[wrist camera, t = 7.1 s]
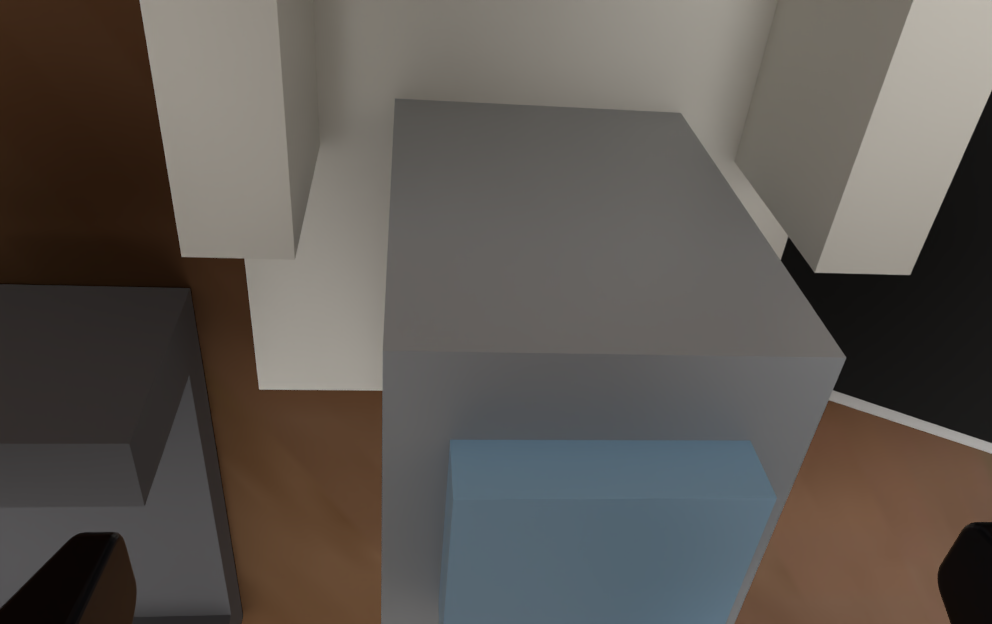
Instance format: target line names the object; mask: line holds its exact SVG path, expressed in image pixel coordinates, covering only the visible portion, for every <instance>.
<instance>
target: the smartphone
mask: <svg viewBox="0 0 992 624" xmlns="http://www.w3.org/2000/svg"><path fill="white" fill-rule="evenodd" d="M781 262H782V263H783V265H784V266H785V268H786V269H787V271H788V272H789V274H790V275H791V277H792V278H793V280H794V281H795V282H796V284H797V285H798V287H799V288H800V290H801V291H802V293H803V294H804V296H805V297H806V299H807V300H808V302H809V303H810V305H811V306H812V308H813V309H814V311H815V312H816V314H817V315H818V316H819V318H820V319H821V321H822V322H823V324H824V325H825V327H826V328H827V330H828V331H829V333H830V334H831V336H832V337H833V339H834V340H835V342H836V343H837V345H838V346H839V348H840V349H841V350H842V352H843V353H844V355H845V356H846V360H845V362H844V365H843V367H842V369H841V372H840V374H839V376H838V379H837V381H836V384H835V386H834V388H833V391H832V393H831V395H830V398H829V400H830V401H833V402H836V403H839V404H842V405H845V406H848V407H851V408H854V409H857V410H860V411H863V412H867V413H870V414H873V415H876V416H879V417H882V418H885V419H888V420H891V421H894V422H897V423H900V424H903V425H906V426H909V427H912V428H915V429H918V430H921V431H924V432H927V433H930V434H933V435H937V436H940V437H943V438H946V439H949V440H952V441H955V442H958V443H961V444H964V445H967V446H970V447H973V448H976V449H979V450H982V451H985V452H988V453H991V454H992V91H991V93H990V95H989V98H988V100H987V102H986V105H985V107H984V109H983V111H982V114H981V116H980V118H979V120H978V123H977V125H976V127H975V129H974V132H973V134H972V136H971V138H970V141H969V143H968V145H967V147H966V150H965V152H964V154H963V157H962V159H961V161H960V163H959V166H958V168H957V170H956V172H955V175H954V177H953V179H952V181H951V184H950V186H949V188H948V190H947V193H946V195H945V197H944V199H943V202H942V204H941V206H940V209H939V211H938V213H937V215H936V218H935V220H934V222H933V224H932V227H931V229H930V231H929V233H928V236H927V238H926V240H925V242H924V245H923V247H922V249H921V251H920V254H919V256H918V258H917V261H916V263H915V265H914V267H913V270H912V272H911V274H910V275H888V274H847V273H815V272H814V271H813V270H812V268H811V267H810V265H809V264H808V263H807V261H806V260H805V259H804V257H803V256H802V254H801V253H800V252H799V250H798V249H797V248H796V246H795V245H794V243H793V242H792V241H791V239H790V238H789V236H788V239H787V242H786V245H785V248H784V251H783V254H782V257H781Z"/></svg>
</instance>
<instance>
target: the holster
mask: <svg viewBox="0 0 992 624" xmlns="http://www.w3.org/2000/svg"><path fill="white" fill-rule="evenodd" d="M83 532H117V533H119V534H120V535H121V536H122V537H123V539H124V541H125V544H126V548H127V551H128V555H129V558H130V562H131V566H132V569H133V573H134V577H135V580H136V587H137V598H136V606H135V612H134V617H133V622H132V624H241V623H242V618H243V613H242V607H241V600H240V594H239V588H238V582H237V576H236V569H235V563H234V557H233V551H232V545H231V538H230V532H229V526H228V520H227V514H226V507H225V501H224V495H223V489H222V482H221V476H220V470H219V464H218V458H217V451H216V445H215V439H214V433H213V427H212V420H211V414H210V408H209V402H208V396H207V389H206V383H205V377H204V371H203V365H202V358H201V352H200V346H199V340H198V334H197V327H196V321H195V315H194V309H193V303H192V296H191V290H190V288H159V287H111V286H63V285H14V284H0V608H1V607H2V606H3V605H4V604H5V603H6V602H7V601H8V600H9V599H10V598H11V597H12V596H13V595H14V594H15V593H16V592H17V591H18V590H19V589H20V588H21V587H22V586H23V585H24V584H25V583H26V582H27V581H28V580H29V579H30V578H31V577H32V576H33V575H34V574H35V573H36V572H37V571H38V570H39V569H40V568H41V567H42V566H43V565H44V564H45V563H46V562H47V561H48V560H49V559H50V558H51V557H52V556H53V555H54V554H55V553H56V552H57V551H58V550H59V549H60V548H61V547H62V546H63V545H64V544H65V543H66V542H67V541H68V540H69V539H70V538H72V537H73V536H75V535H77V534H79V533H83Z"/></svg>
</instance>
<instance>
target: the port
mask: <svg viewBox="0 0 992 624" xmlns="http://www.w3.org/2000/svg"><path fill="white" fill-rule="evenodd" d="M139 1H140V7H141V13H142V19H143V25H144V31H145V37H146V43H147V49H148V55H149V62H150V68H151V74H152V80H153V86H154V92H155V98H156V104H157V110H158V116H159V122H160V129H161V135H162V141H163V147H164V153H165V159H166V165H167V171H168V177H169V183H170V189H171V196H172V202H173V208H174V214H175V220H176V226H177V232H178V238H179V244H180V250H181V256H182V257H204V258H244V260H245V269H246V278H247V287H248V296H249V304H250V313H251V322H252V331H253V340H254V349H255V358H256V367H257V375H258V384H259V390H374V391H383V335H384V314H385V293H386V272H387V251H388V231H389V210H390V189H391V168H392V147H393V127H394V106H395V99H414V100H434V101H454V102H474V103H494V104H514V105H535V106H555V107H575V108H595V109H615V110H635V111H655V112H675V113H681V114H682V116H683V117H684V118H685V120H686V121H687V123H688V124H689V126H690V127H691V129H692V130H693V132H694V133H695V135H696V136H697V138H698V139H699V141H700V142H701V144H702V145H703V147H704V148H705V149H706V151H707V152H708V154H709V155H710V157H711V158H712V160H713V161H714V163H715V164H716V166H717V167H718V169H719V170H720V172H721V173H722V175H723V176H724V178H725V179H726V181H727V182H728V183H729V185H730V186H731V188H732V189H733V191H734V192H735V194H736V195H737V197H738V198H739V200H740V201H741V203H742V204H743V206H744V207H745V209H746V210H747V212H748V213H749V215H750V216H751V217H752V219H753V220H754V222H755V223H756V225H757V226H758V228H759V229H760V231H761V232H762V234H763V235H764V237H765V238H766V240H767V241H768V243H769V244H770V246H771V247H772V249H773V250H774V251H775V253H776V254H777V256H778V257H779V259H780V260H781V257H782V254H783V251H784V248H785V245H786V242H787V239H788V236H789V238H790V239H791V241H792V242H793V243H794V245H795V246H796V248H797V249H798V250H799V252H800V253H801V254H802V256H803V257H804V259H805V260H806V261H807V263H808V264H809V265H810V267H811V268H812V270H813V271H814V272H815V273H847V274H888V275H910V274H911V272H912V270H913V267H914V265H915V263H916V261H917V258H918V256H919V254H920V251H921V249H922V247H923V245H924V242H925V240H926V238H927V236H928V233H929V231H930V229H931V227H932V224H933V222H934V220H935V218H936V215H937V213H938V211H939V209H940V206H941V204H942V202H943V199H944V197H945V195H946V193H947V190H948V188H949V186H950V184H951V181H952V179H953V177H954V175H955V172H956V170H957V168H958V166H959V163H960V161H961V159H962V157H963V154H964V152H965V150H966V147H967V145H968V143H969V141H970V138H971V136H972V134H973V132H974V129H975V127H976V125H977V123H978V120H979V118H980V116H981V114H982V111H983V109H984V107H985V105H986V102H987V100H988V98H989V95H990V93H991V91H992V0H139Z"/></svg>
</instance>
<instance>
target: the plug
mask: <svg viewBox="0 0 992 624" xmlns="http://www.w3.org/2000/svg"><path fill="white" fill-rule="evenodd" d="M845 360H846V356H845V355H844V353H843V352H842V350H841V349H840V348H839V346H838V345H837V343H836V342H835V340H834V339H833V337H832V336H831V334H830V333H829V331H828V330H827V328H826V327H825V325H824V324H823V322H822V321H821V319H820V318H819V316H818V315H817V314H816V312H815V311H814V309H813V308H812V306H811V305H810V303H809V302H808V300H807V299H806V297H805V296H804V294H803V293H802V291H801V290H800V288H799V287H798V285H797V284H796V282H795V281H794V280H793V278H792V277H791V275H790V274H789V272H788V271H787V269H786V268H785V266H784V265H783V263H782V262H781V260H780V259H779V257H778V256H777V254H776V253H775V251H774V250H773V249H772V247H771V246H770V244H769V243H768V241H767V240H766V238H765V237H764V235H763V234H762V232H761V231H760V229H759V228H758V226H757V225H756V223H755V222H754V220H753V219H752V217H751V216H750V215H749V213H748V212H747V210H746V209H745V207H744V206H743V204H742V203H741V201H740V200H739V198H738V197H737V195H736V194H735V192H734V191H733V189H732V188H731V186H730V185H729V183H728V182H727V181H726V179H725V178H724V176H723V175H722V173H721V172H720V170H719V169H718V167H717V166H716V164H715V163H714V161H713V160H712V158H711V157H710V155H709V154H708V152H707V151H706V149H705V148H704V147H703V145H702V144H701V142H700V141H699V139H698V138H697V136H696V135H695V133H694V132H693V130H692V129H691V127H690V126H689V124H688V123H687V121H686V120H685V118H684V117H683V116H682V114H681V113H675V112H655V111H635V110H615V109H595V108H575V107H555V106H535V105H514V104H494V103H474V102H454V101H434V100H414V99H395V106H394V127H393V147H392V168H391V189H390V210H389V231H388V251H387V272H386V293H385V314H384V335H383V395H382V586H381V624H734V623H735V621H736V619H737V616H738V614H739V611H740V609H741V607H742V604H743V602H744V600H745V597H746V595H747V592H748V590H749V588H750V585H751V583H752V581H753V578H754V576H755V573H756V571H757V569H758V566H759V564H760V562H761V559H762V557H763V554H764V552H765V550H766V547H767V545H768V543H769V540H770V538H771V535H772V533H773V531H774V528H775V526H776V524H777V521H778V519H779V516H780V514H781V512H782V509H783V507H784V505H785V502H786V500H787V497H788V495H789V493H790V490H791V488H792V486H793V483H794V481H795V478H796V476H797V474H798V471H799V469H800V467H801V464H802V462H803V460H804V457H805V455H806V452H807V450H808V448H809V445H810V443H811V441H812V438H813V436H814V433H815V431H816V429H817V426H818V424H819V422H820V419H821V417H822V414H823V412H824V410H825V407H826V405H827V403H828V400H829V398H830V395H831V393H832V391H833V388H834V386H835V384H836V381H837V379H838V376H839V374H840V372H841V369H842V367H843V365H844V362H845Z"/></svg>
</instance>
